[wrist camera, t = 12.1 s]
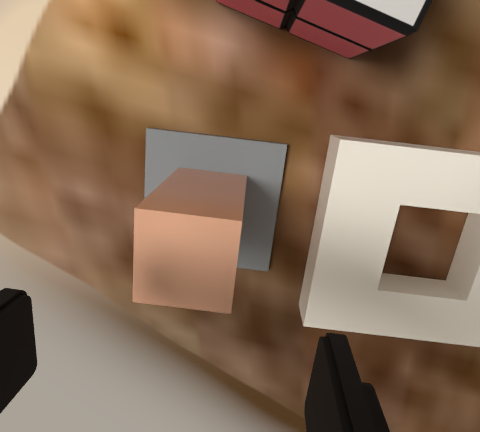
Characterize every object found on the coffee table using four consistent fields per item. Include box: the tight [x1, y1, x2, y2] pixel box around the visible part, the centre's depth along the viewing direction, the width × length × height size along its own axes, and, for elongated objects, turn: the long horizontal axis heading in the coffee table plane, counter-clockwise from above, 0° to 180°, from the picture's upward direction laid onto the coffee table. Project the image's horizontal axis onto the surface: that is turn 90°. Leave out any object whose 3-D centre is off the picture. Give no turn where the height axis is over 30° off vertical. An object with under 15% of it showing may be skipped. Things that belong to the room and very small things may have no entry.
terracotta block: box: [133, 167, 247, 314], centre depth 22 cm, size 5×5×10 cm
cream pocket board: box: [299, 135, 480, 347], centre depth 26 cm, size 16×14×3 cm
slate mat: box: [145, 128, 287, 271], centre depth 27 cm, size 10×10×1 cm
